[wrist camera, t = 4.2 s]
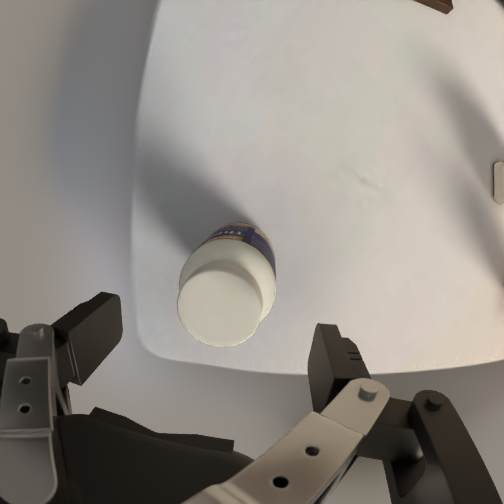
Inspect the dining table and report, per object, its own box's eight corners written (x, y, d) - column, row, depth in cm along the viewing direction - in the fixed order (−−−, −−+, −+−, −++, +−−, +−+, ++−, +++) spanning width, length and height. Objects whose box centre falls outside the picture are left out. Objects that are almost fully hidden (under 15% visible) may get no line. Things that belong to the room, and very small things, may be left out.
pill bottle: (247, 207, 22) (230, 228, 12) (288, 266, 23) (299, 325, 13) (191, 248, 23) (140, 293, 13) (231, 302, 24) (208, 375, 14)
